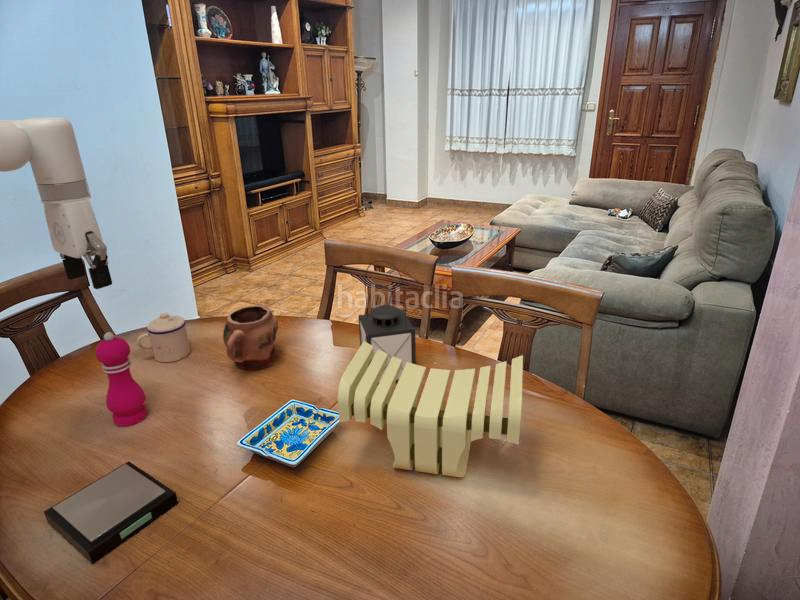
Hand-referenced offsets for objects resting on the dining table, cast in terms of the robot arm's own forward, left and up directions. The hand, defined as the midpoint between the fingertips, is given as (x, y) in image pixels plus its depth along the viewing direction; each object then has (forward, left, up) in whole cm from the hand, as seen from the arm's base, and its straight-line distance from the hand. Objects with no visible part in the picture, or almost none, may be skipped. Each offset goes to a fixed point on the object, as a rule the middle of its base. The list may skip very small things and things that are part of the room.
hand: (90, 281), depth 97 cm
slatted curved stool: (+25, -61, -30) cm, 73 cm away
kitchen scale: (-16, -25, -30) cm, 42 cm away
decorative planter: (+29, -7, -30) cm, 42 cm away
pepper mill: (0, -2, -30) cm, 30 cm away
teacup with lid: (+20, +16, -30) cm, 40 cm away
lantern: (+44, -37, -30) cm, 65 cm away
